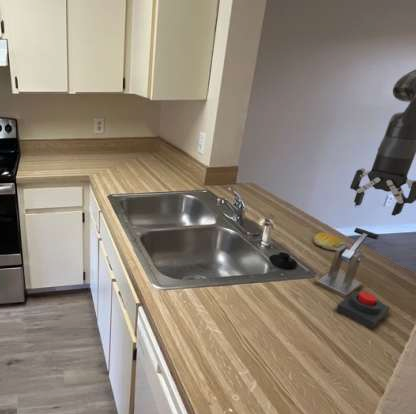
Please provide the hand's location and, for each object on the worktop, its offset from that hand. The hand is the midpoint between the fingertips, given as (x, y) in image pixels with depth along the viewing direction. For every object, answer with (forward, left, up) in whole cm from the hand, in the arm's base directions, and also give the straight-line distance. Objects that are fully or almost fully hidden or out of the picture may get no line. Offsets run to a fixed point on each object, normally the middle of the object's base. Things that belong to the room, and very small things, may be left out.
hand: (375, 209), depth 94 cm
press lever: (+4, 0, -11) cm, 12 cm away
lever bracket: (+9, 0, -22) cm, 24 cm away
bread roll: (-14, -13, -23) cm, 30 cm away
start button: (+17, +9, -19) cm, 27 cm away
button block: (+17, +9, -22) cm, 29 cm away
